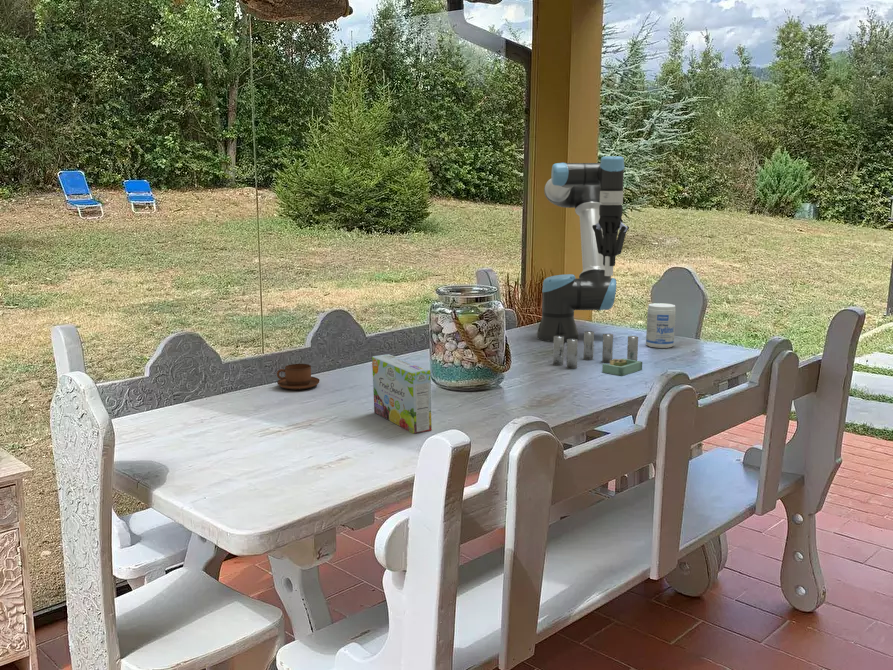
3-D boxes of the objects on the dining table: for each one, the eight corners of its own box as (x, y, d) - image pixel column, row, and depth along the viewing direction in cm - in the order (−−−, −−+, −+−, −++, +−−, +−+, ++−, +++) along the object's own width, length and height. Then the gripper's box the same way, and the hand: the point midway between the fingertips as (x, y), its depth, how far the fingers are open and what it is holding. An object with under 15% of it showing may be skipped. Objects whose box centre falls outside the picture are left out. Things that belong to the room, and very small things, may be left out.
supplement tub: (658, 349, 293) (660, 307, 290) (640, 345, 301) (641, 304, 298) (679, 347, 297) (681, 305, 294) (661, 342, 305) (662, 302, 303)
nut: (619, 372, 259) (619, 362, 259) (607, 370, 262) (607, 360, 262) (628, 369, 263) (629, 360, 262) (616, 367, 266) (616, 358, 266)
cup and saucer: (279, 393, 236) (278, 372, 235) (275, 383, 248) (275, 363, 247) (322, 390, 240) (321, 369, 238) (317, 381, 251) (316, 360, 250)
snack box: (371, 413, 216) (370, 355, 214) (391, 410, 219) (390, 353, 217) (412, 434, 199) (412, 372, 196) (433, 430, 202) (432, 369, 199)
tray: (602, 372, 260) (602, 364, 260) (622, 366, 268) (622, 358, 268) (621, 375, 255) (622, 367, 255) (642, 369, 263) (642, 361, 263)
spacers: (549, 364, 270) (549, 337, 269) (585, 355, 284) (585, 328, 283) (604, 375, 256) (605, 345, 255) (639, 364, 270) (640, 336, 268)
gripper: (587, 204, 280) (586, 275, 285) (621, 204, 271) (619, 278, 276) (600, 203, 285) (598, 273, 290) (634, 204, 277) (631, 276, 281)
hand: (608, 275), depth 283 cm, fingers closed
